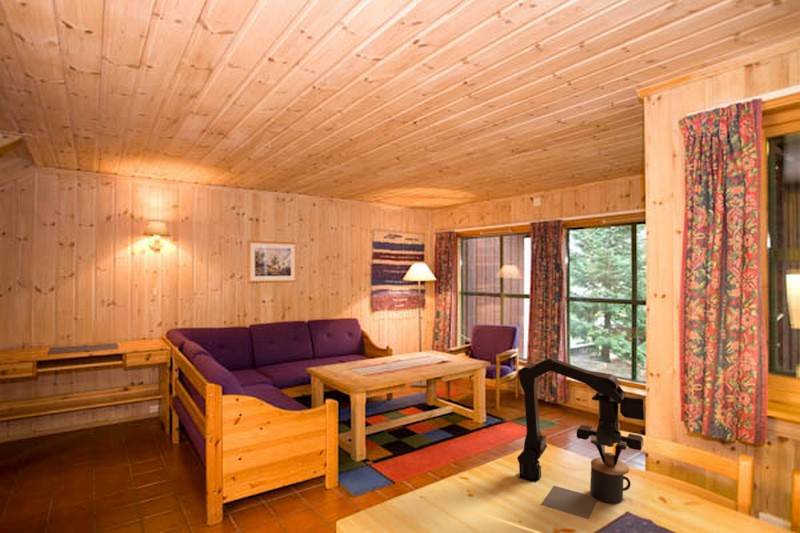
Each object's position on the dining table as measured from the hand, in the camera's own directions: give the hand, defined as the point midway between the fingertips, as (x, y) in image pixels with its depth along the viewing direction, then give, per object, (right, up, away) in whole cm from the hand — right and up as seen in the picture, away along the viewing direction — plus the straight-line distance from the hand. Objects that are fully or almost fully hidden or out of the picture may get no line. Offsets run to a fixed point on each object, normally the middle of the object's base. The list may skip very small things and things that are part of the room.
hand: (609, 463), depth 140 cm
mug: (0, -11, 0) cm, 11 cm away
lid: (0, -1, 0) cm, 1 cm away
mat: (-14, -11, -2) cm, 18 cm away
